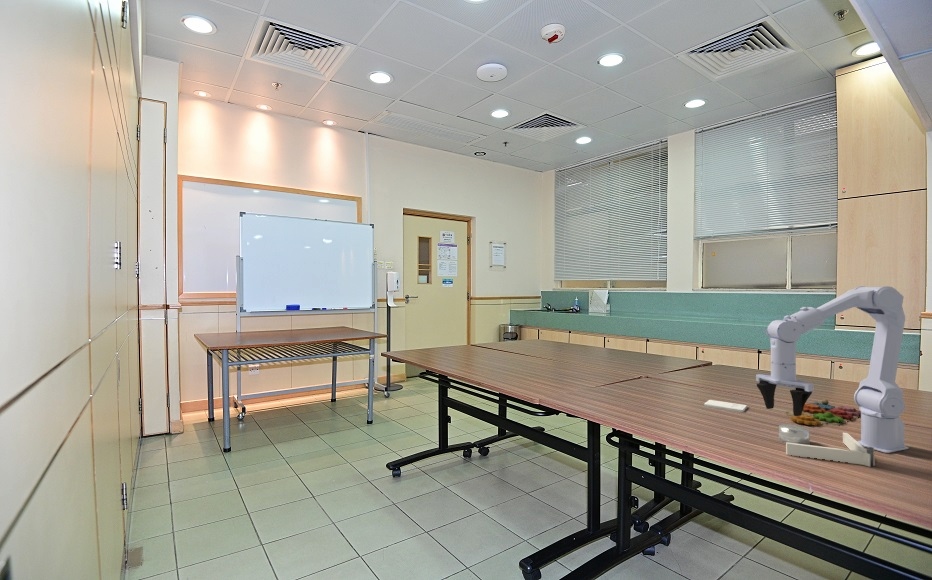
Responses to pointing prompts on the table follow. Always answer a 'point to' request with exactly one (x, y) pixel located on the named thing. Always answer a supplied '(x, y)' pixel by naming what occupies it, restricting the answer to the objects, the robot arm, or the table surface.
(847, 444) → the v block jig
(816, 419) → the gear puzzle
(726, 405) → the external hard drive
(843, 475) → the table surface
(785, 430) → the translucent glass bowl
